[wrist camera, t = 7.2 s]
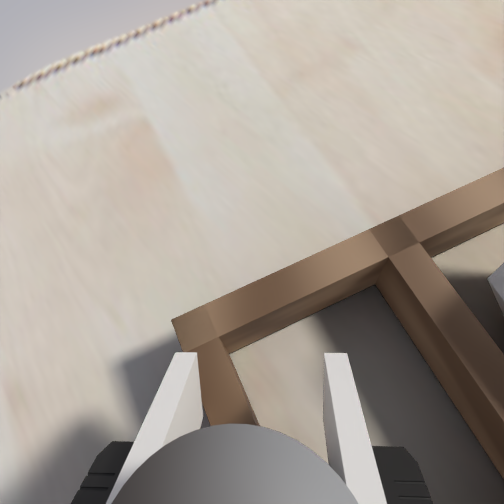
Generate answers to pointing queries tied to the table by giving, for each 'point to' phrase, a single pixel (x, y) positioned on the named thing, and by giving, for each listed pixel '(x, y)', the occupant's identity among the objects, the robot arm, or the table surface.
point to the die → (498, 286)
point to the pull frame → (311, 301)
